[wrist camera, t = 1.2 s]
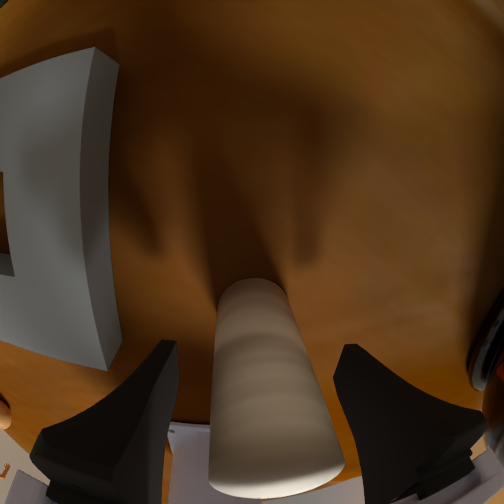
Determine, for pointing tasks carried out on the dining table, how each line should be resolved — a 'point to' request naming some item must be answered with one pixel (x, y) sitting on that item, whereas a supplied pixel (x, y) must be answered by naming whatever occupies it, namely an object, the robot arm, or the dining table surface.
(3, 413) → the figurine
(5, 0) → the potion bottle
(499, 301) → the amphora vase
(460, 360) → the dining table surface
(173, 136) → the dining table surface
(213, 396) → the birch dowel
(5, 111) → the socket block
